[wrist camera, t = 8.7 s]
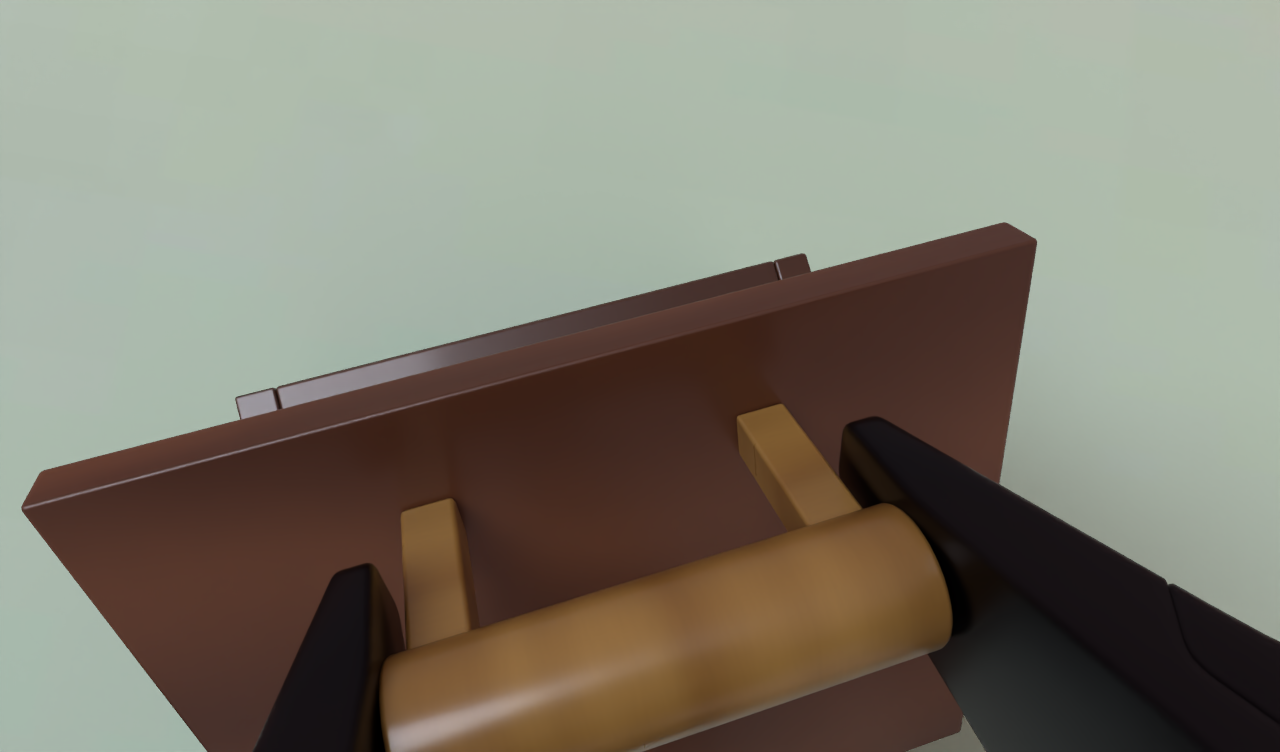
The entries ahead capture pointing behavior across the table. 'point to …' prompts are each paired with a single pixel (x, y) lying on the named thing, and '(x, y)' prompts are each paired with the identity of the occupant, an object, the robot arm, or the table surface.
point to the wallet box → (517, 336)
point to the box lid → (585, 524)
